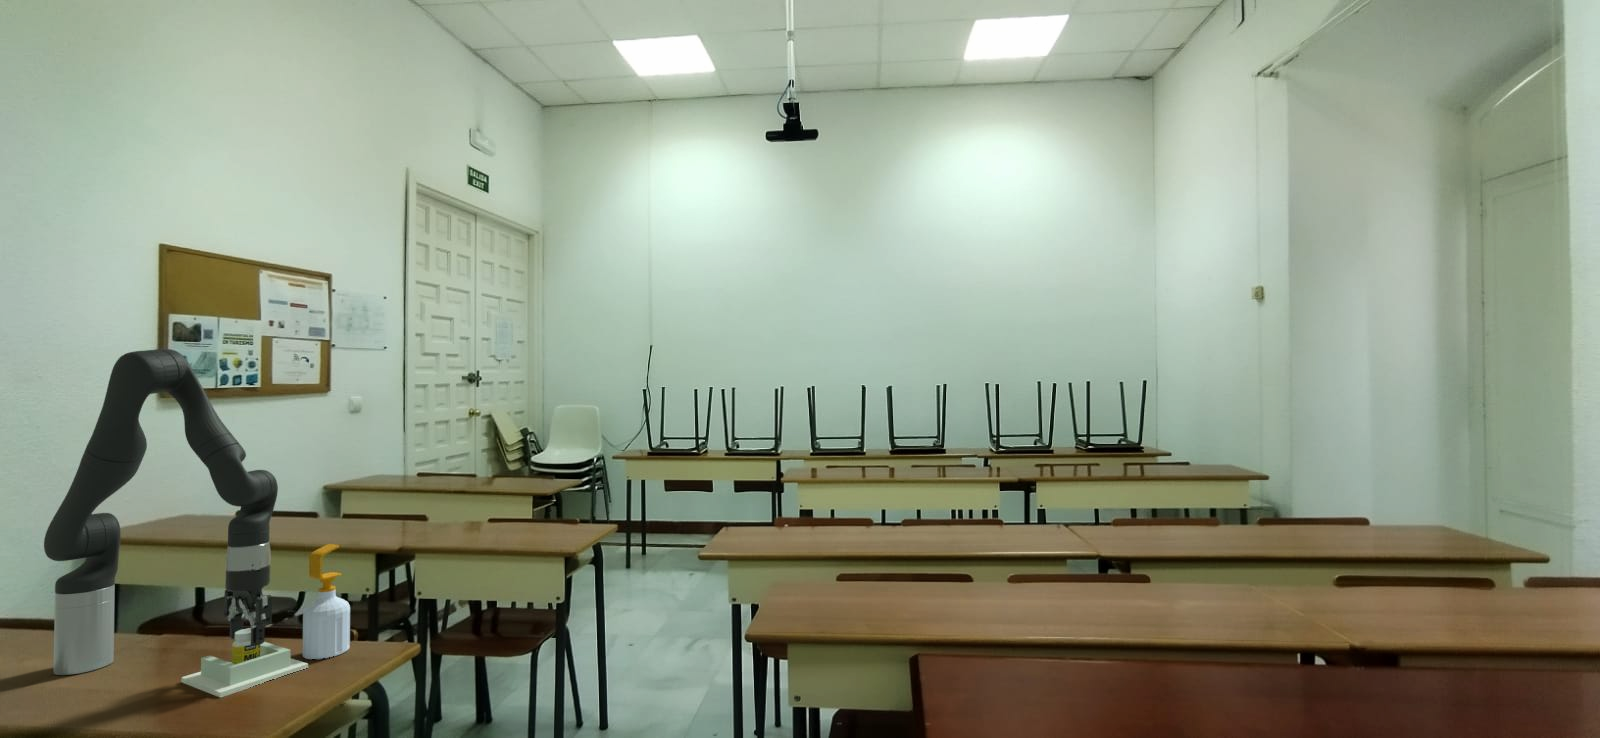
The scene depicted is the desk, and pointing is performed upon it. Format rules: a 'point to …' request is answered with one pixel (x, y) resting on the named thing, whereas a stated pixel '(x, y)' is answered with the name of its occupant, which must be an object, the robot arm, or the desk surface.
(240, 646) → the supplement bottle
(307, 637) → the soap bottle
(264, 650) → the u rest
